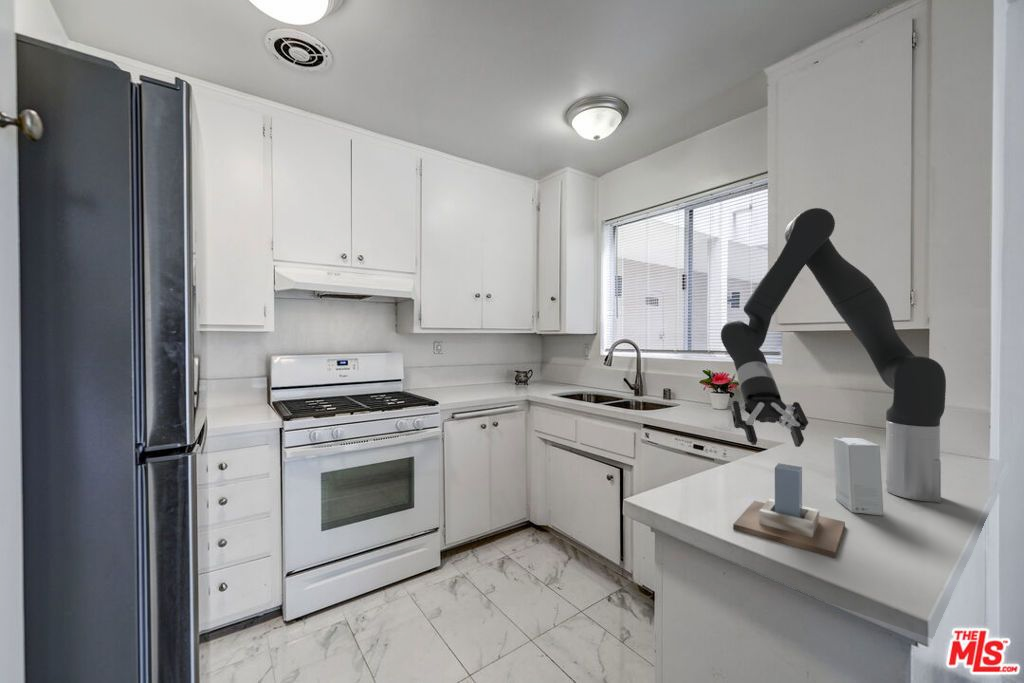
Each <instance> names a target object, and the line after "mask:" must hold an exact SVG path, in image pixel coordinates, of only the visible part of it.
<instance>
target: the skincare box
mask: <svg viewBox="0 0 1024 683" xmlns="http://www.w3.org/2000/svg"><path fill="white" fill-rule="evenodd" d="M833 455H834V456H833V458H834V461H833V462H834V478H835V482H834V484H835V485H834V486H835V500H836V501H837V502H838V503H840V504H841V505H842V506H843V507H845V508H846V509H847V510H849V511H850V512H852V513H853V514H854V513H856V514H864V515H865V514H866V515H872V516H881V517H882V516H884V513H885V512H884V499H883V497H884V496H883V479H882V478H883V477H882V463H881V462H882V460H881V445H879V444H878V443H877V444H876V443H874V442H871V441H869V440H867V439H863V438H861V437H860V438H859V437H858V438H857V437H833Z"/></svg>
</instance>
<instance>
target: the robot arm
mask: <svg viewBox="0 0 1024 683" xmlns="http://www.w3.org/2000/svg"><path fill="white" fill-rule="evenodd" d="M835 221H836V220H835V218H834V216H833V215H832V213H831V212H830V211H828V210H827V209H825V208H822V207H821V208H820V207H819V208H818V207H814V208H809V209H806V210H804V211H802V212H801V213H799V214H798V215H796V216H795V217H794V218H793V219H792V220H791V221H790V222H789V223H788V224H787V226H786V228H785V231H784V239H785V241H786V242H785V244H784V247H783V249H782V250H781V251H780V254H779V255H778V257H777V258H776V260H775V261H774V263H773V264H772V265H771V266H770V268H769V269H768V270H767V271H766V273H765V275H764V276H763V277H762V278H761V279H760V281H759V282H758V284H757V285H756V287H755V288H754V290H753V291H752V293H751V294H750V296H749V297H748V300H747V301H746V303H745V305H744V306H743V311H744V313H745V314H746V315H747V317H748V318H749V321H748V324H747V323H746V322H743V321H741V320H736V319H735V320H734V319H733V320H730V321H728V322H726V323H725V324H724V325H723V326H722V329H721V331H720V340H721V343H722V345H723V346H724V349H725V350H726V352H727V354H728V355H729V357H731V359H732V361H733V363H734V367H735V372H736V374H737V375H736V376H737V382H738V386H739V390H740V392H741V396H742V398H743V402H744V403H739V401H737V400H734V401H732V405H731V407H730V409H731V410H730V411H731V416H732V421H733V427H734V428H735V429H742V430H744V432H745V436H746V440H747V442H748V443H750V444H751V445H752V446H756V445H757V443H758V437H757V433H756V430H755V426H754V424H755V423H756V422H760V423H762V424H763V423H770V424H771V423H772V424H775V423H777V424H778V425H780V426H781V427H785V428H786V429H788V431H790V435H791V438H792V441H793V444H794V447H796V448H799V447H801V445H803V443H804V441H805V438H804V434H803V432H802V431H805V430H806V428H807V426H808V424H809V421H808V419H807V417H806V415H805V413H804V410H803V409H802V407H801V404H800V403H799V402H798V401H794V402H793V403H792V404H785V403H784V402H783V401H782V397H781V396H782V395H781V394H780V391H779V389H778V386H777V383H776V381H775V378H774V375H773V373H772V371H771V369H770V367H769V365H768V362H767V360H766V356H765V355H764V353H763V351H761V347H762V346H763V345H764V343H765V341H766V338H767V335H768V332H769V328H770V324H771V321H772V317H773V316H774V314H775V313H776V311H777V309H778V308H779V306H780V305H781V303H782V302H783V300H784V298H785V297H786V295H787V293H788V291H789V290H790V289H791V287H792V285H793V284H794V282H795V281H796V279H797V277H798V275H799V274H800V272H802V270H803V268H804V267H805V266H806V267H807V268H808V269H809V271H811V273H812V275H813V277H814V278H815V279H816V281H817V283H818V284H819V286H820V288H821V289H822V290H823V292H824V294H825V295H826V296H827V298H828V300H829V301H830V303H831V304H832V306H833V308H835V310H836V311H837V313H838V314H839V316H840V317H841V318H842V320H843V321H844V322H845V323H846V325H847V326H848V328H849V329H850V331H851V332H852V333H853V334H854V336H855V337H856V338H857V340H858V341H859V342H860V343H861V345H862V347H864V349H865V350H866V353H868V356H869V358H870V360H871V361H872V363H873V365H874V367H875V369H876V371H877V373H878V374H879V376H880V378H881V380H882V382H883V383H884V384H885V385H886V386H887V387H888V388H890V389H892V390H893V399H892V400H893V401H892V405H891V406H890V407H889V408H887V410H886V412H885V415H886V416H885V423H886V424H885V425H886V428H885V431H886V432H885V433H886V435H885V436H886V438H885V441H886V442H885V443H886V444H885V447H886V448H885V450H886V451H885V454H886V455H885V457H886V458H885V460H886V464H885V467H886V468H885V474H886V480H885V485H886V491H887V492H888V493H890V494H892V495H894V496H898V497H901V498H905V499H908V500H914V501H920V502H932V503H940V504H941V503H942V482H941V481H942V476H941V475H942V472H941V471H942V466H941V465H942V461H941V418H942V416H943V415H944V413H945V412H944V411H945V409H946V408H945V407H946V391H947V379H946V372H945V370H944V368H943V366H942V365H941V364H940V363H939V362H938V361H936V360H934V359H933V358H930V357H927V356H919V355H915V354H914V353H913V352H912V351H911V349H909V348H908V346H907V345H906V344H905V343H904V341H903V340H902V339H901V337H900V336H899V335H898V332H897V330H896V328H895V325H894V321H893V317H892V313H891V310H890V307H889V305H888V303H887V301H886V298H884V296H883V295H882V293H881V292H880V290H879V289H878V287H877V285H875V283H874V282H873V281H872V280H871V279H870V278H869V277H868V276H867V275H866V274H864V273H863V271H861V270H860V269H858V268H857V267H856V266H854V265H853V264H851V263H850V262H849V261H848V260H846V259H845V258H844V257H843V256H842V255H841V254H840V253H839V251H838V250H837V249H836V247H835V245H834V244H833V242H832V241H831V239H830V237H831V236H832V234H833V233H834V230H835V226H836V225H835V224H836V222H835ZM743 411H745V413H747V414H749V416H748V417H747V419H746V420H743V418H742V412H743ZM787 411H788V412H787Z"/></svg>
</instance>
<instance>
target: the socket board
mask: <svg viewBox="0 0 1024 683" xmlns="http://www.w3.org/2000/svg"><path fill="white" fill-rule="evenodd" d="M732 525H733V526H732V529H733V530H736V531H739V532H741V533H745V534H746V533H747V534H750V535H753V536H757V537H760V538H764V539H766V540H767V539H768V540H771V541H774V542H778V543H781V544H785V545H788V546H793V547H795V548H799V549H802V550H806V551H810V552H812V553H817V554H820V555H823V556H827V557H830V558H836V557H837V553H838V550H839V547H840V544H841V540H842V537H843V535H844V531H845V527H846V522H845V521H843V520H839V519H834V518H830V517H826V516H822V515H820V509H817V508H814V507H810V506H809V507H808V506H805V505H802V518H798V517H794V516H789V515H785V514H781V513H777V512H775V498H774V499H773V498H768V499H767V501H766V502H762V501H758V500H754V501H753V502H751V504H750V505H749V506H748V507H747V508H746V509H745V510H744V511H743V512H742V514H740V516H739V517H738V518H737V519H735V521H734V522H733V524H732Z"/></svg>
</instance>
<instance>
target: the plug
mask: <svg viewBox="0 0 1024 683" xmlns="http://www.w3.org/2000/svg"><path fill="white" fill-rule="evenodd" d="M774 500H775V512H777V513H781V514H785V515H789V516H794V517H798V518H802V506H803V467H802V466H797V465H792V464H791V465H790V464H786V463H777V464H776V466H775V467H774Z"/></svg>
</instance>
